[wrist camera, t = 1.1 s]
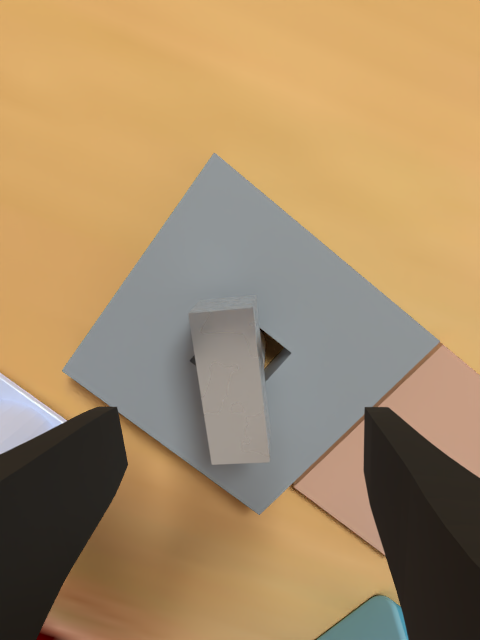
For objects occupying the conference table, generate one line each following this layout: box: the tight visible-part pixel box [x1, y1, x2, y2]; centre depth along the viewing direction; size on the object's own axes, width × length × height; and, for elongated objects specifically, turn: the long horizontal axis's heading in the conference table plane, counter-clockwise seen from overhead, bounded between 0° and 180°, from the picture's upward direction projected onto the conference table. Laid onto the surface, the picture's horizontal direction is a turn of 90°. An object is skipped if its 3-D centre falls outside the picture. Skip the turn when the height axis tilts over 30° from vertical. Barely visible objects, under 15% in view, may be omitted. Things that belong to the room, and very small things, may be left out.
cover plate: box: [62, 153, 440, 515], centre depth 21 cm, size 14×14×2 cm
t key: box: [188, 295, 271, 465], centre depth 19 cm, size 7×3×6 cm, turn 6°
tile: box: [293, 342, 480, 555], centre depth 22 cm, size 12×8×1 cm, turn 141°
